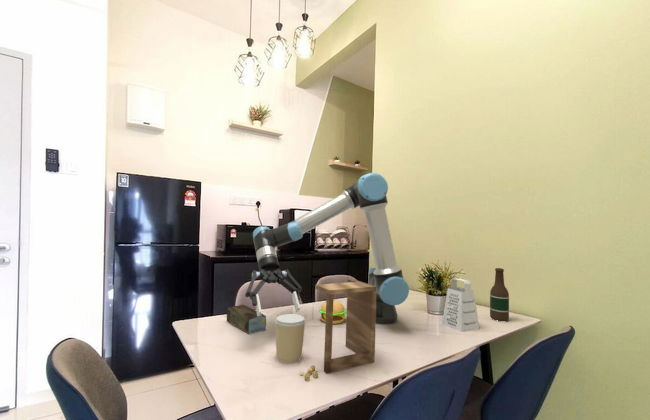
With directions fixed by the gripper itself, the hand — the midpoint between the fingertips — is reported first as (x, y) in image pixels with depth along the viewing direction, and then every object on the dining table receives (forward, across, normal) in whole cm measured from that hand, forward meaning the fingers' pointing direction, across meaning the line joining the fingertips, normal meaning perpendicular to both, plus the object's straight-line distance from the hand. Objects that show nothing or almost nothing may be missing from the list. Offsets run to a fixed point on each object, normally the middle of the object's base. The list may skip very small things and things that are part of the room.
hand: (279, 312), depth 100 cm
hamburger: (-5, -32, -22) cm, 39 cm away
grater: (+14, -80, -2) cm, 81 cm away
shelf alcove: (+18, -15, +2) cm, 24 cm away
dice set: (+24, -2, +6) cm, 24 cm away
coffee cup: (+14, -1, -3) cm, 14 cm away
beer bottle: (+15, -107, -2) cm, 108 cm away
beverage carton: (-10, +4, -28) cm, 30 cm away
